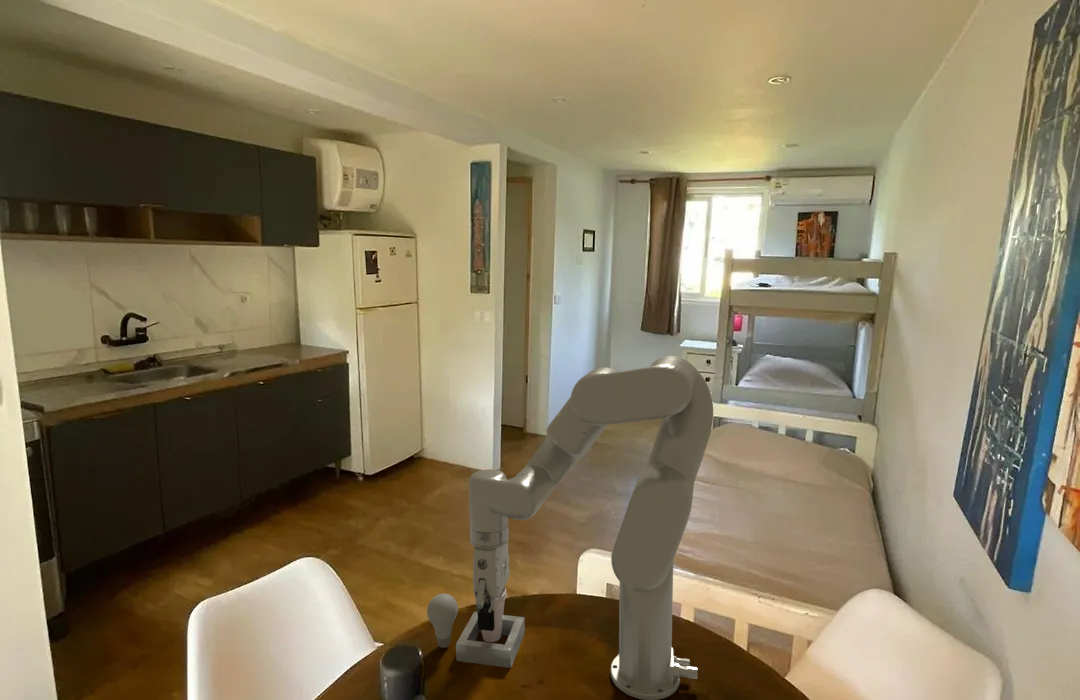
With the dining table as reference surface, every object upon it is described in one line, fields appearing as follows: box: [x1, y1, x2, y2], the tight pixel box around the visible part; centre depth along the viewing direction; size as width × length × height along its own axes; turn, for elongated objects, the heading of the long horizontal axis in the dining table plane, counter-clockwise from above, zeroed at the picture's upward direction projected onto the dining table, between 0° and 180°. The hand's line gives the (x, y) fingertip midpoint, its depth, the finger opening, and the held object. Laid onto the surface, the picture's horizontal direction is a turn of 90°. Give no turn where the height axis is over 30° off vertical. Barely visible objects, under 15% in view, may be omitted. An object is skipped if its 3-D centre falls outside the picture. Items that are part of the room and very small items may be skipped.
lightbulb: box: [426, 593, 459, 649], centre depth 112 cm, size 6×6×11 cm
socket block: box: [455, 611, 526, 669], centre depth 113 cm, size 11×11×4 cm
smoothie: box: [474, 586, 508, 643], centre depth 112 cm, size 6×6×14 cm
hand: (491, 618), depth 112 cm, fingers closed on smoothie, 6 cm apart
